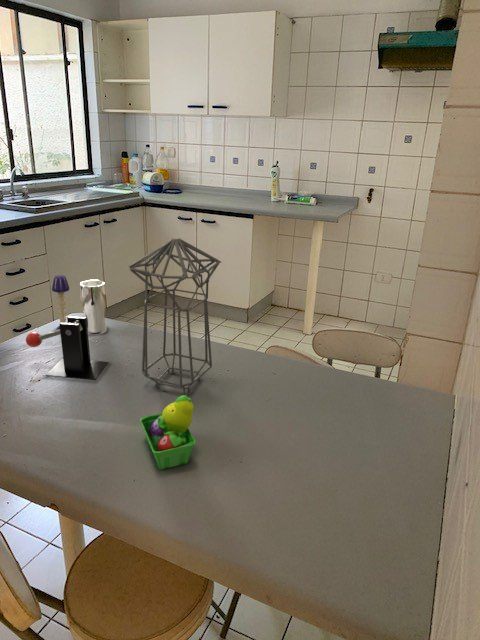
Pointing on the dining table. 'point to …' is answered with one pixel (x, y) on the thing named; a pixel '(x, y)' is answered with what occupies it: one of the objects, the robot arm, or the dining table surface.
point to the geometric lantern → (163, 251)
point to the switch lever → (44, 336)
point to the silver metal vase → (94, 305)
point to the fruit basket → (171, 433)
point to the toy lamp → (60, 295)
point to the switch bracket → (76, 353)
